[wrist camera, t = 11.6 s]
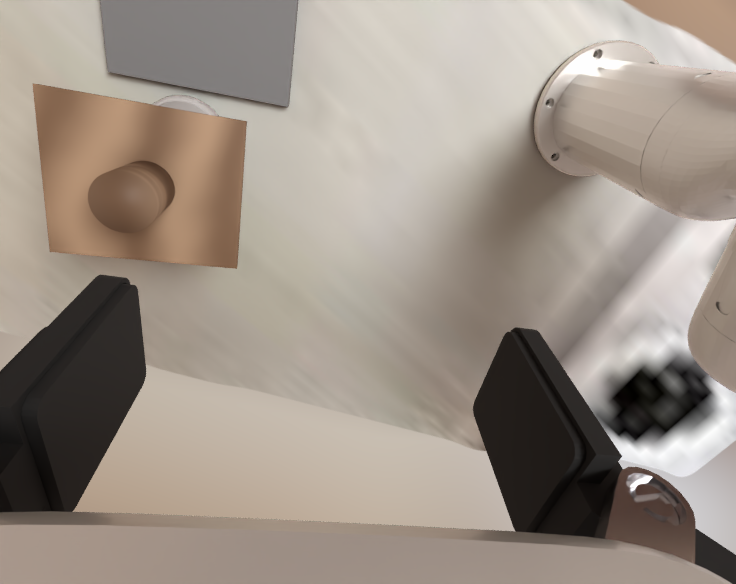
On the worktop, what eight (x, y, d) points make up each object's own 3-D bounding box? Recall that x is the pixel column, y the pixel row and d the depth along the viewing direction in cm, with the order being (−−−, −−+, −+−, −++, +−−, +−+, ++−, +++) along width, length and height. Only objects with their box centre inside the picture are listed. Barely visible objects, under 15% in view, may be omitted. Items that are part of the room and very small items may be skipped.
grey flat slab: (302, -49, 35) (301, -51, 34) (288, 105, 41) (288, 106, 40) (94, -102, 32) (88, -105, 32) (112, 70, 39) (107, 71, 38)
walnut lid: (246, 121, 33) (241, 124, 27) (237, 265, 37) (231, 296, 31) (38, 84, 29) (-23, 77, 23) (54, 248, 34) (7, 279, 28)
